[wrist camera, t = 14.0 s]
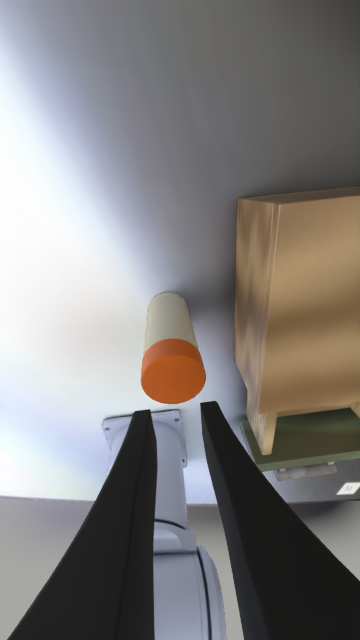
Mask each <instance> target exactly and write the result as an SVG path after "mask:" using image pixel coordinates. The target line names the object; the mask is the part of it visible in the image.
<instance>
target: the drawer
mask: <svg viewBox="0 0 360 640" xmlns="http://www.w3.org/2000/svg"><path fill="white" fill-rule="evenodd" d="M246 415H247V418H248V420H243V421H240V430H241V433H242V435H243V438H244V441H245V444H246V447H247V450H248V453H249V456H250V457H251V459H252V460H253V462H254V463H255V464H256V466H257V467H258V468H259V470H260V471H261V472H264V471H271V470H273V471H274V475H275V477H276V479H277V480H278V481H282V480H290V479H297V478H304V477H311V476H318V475H325V474H332V473H336V472H337V468H336V465H335V463H334V462H336V461H343V460H350V459H357V458H360V401H357V402H349V403H341V404H334V405H326V406H319V407H311V408H303V409H296V410H288V411H281V412H273V413H266V414H258V412H257V410H256V407H255V405H254V403H253V401H252V399H251V396H250V394H249V392H248V394H247V410H246Z"/></svg>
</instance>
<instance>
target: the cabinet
mask: <svg viewBox="0 0 360 640" xmlns="http://www.w3.org/2000/svg"><path fill="white" fill-rule="evenodd" d="M234 360H235V363H236V365H237V367H238V369H239V372H240V374H241V376H242V378H243V381H244V383H245V385H246V387H247V390H248V392H249V394H250V396H251V399H252V401H253V403H254V405H255V407H256V410H257V412H258V414H266V413H273V412H281V411H288V410H296V409H303V408H311V407H319V406H326V405H334V404H341V403H349V402H357V401H360V185H357V186H348V187H338V188H329V189H319V190H310V191H300V192H291V193H281V194H272V195H262V196H253V197H243V198H238V201H237V245H236V289H235V332H234Z"/></svg>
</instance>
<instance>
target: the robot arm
mask: <svg viewBox="0 0 360 640" xmlns="http://www.w3.org/2000/svg"><path fill="white" fill-rule="evenodd" d="M200 406H201V421H202V435H203V441H204V447H205V453H206V459H207V464H208V468H209V472H210V476H211V480H212V484H213V488H214V491H215V495H216V499H217V503H218V507H219V511H220V515H221V518H222V522H223V527H224V531H225V536H226V540H227V546H228V551H229V557H230V562H231V568H232V573H233V579H234V584H235V589H236V596H237V601H238V606H239V612H240V618H241V624H242V629H243V635H244V640H360V581H359V580H358V579H357V578H356V577H355V576H354V575H353V574H352V573H351V572H350V571H349V570H348V569H347V568H346V567H345V566H344V565H343V564H342V563H341V562H340V561H339V560H338V559H337V558H336V557H335V556H334V555H333V554H332V553H331V551H330V550H329V549H328V548H327V547H326V546H325V545H324V544H323V543H322V542H321V541H320V540H319V539H318V538H317V537H316V535H315V534H313V532H312V531H311V530H310V529H309V528H308V527H307V526H306V525H305V524H304V523H303V522H302V520H301V519H300V518H299V517H298V516H297V515H296V514H295V512H294V511H293V510H292V509H291V508H290V507H289V506H288V504H287V503H286V502H285V501H284V500H283V499H282V497H281V496H280V495H279V494H278V493H277V491H276V490H275V489H274V488H273V486H272V485H271V484H270V483H269V481H268V480H267V479H266V478H265V476H264V475H263V474H262V472H261V471H260V470H259V468H258V467H257V466H256V464H255V463H254V462H253V460H252V459H251V457H250V456H249V455H248V453H247V452H246V450H245V449H244V447H243V446H242V444H241V443H240V441H239V440H238V438H237V437H236V435H235V434H234V432H233V430H232V429H231V427H230V425H229V424H228V422H227V420H226V418H225V417H224V415H223V413H222V411H221V409H220V407H219V405H218V403H217V402H216V401H211V402H204V403H200ZM176 418H177V419H176ZM101 427H102V429H103V432H104V435H105V437H106V440H107V443H108V445H109V448H110V451H111V452H110V458H109V464H108V470H107V475H106V481H105V483H104V485H103V487H102V489H101V491H100V493H99V495H98V497H97V499H96V500H95V502H94V504H93V506H92V508H91V510H90V512H89V513H88V515H87V517H86V519H85V521H84V522H83V524H82V526H81V528H80V530H79V531H78V533H77V534H76V536H75V538H74V540H73V541H72V543H71V544H70V546H69V548H68V549H67V551H66V553H65V554H64V556H63V557H62V559H61V561H60V562H59V564H58V565H57V567H56V569H55V570H54V572H53V573H52V575H51V576H50V578H49V580H48V581H47V583H46V584H45V585H44V587H43V588H42V590H41V591H40V593H39V594H38V596H37V597H36V599H35V600H34V602H33V603H32V605H31V606H30V608H29V609H28V610H27V612H26V613H25V615H24V617H23V618H22V619H21V621H20V622H19V624H18V625H17V627H16V628H15V630H14V631H13V632H12V634H11V635H10V637H9V638H8V639H7V640H226V623H225V612H224V605H223V597H222V592H221V586H220V581H219V577H218V573H217V570H216V567H215V564H214V562H213V560H212V558H211V557H210V556H209V554H208V552H207V551H206V549H205V548H204V547H203V546H196V536H195V531H194V530H189V528H188V519H187V518H188V517H187V506H186V496H185V485H184V474H183V468H185V467H187V457H186V449H185V442H184V434H183V426H182V418H181V412H180V411H177V410H175V411H167V412H160V413H152V414H151V412H150V409H149V410H142V411H135V412H134V413H133V415H132V416H129V417H121V418H113V419H106V420H103V421H102V424H101Z"/></svg>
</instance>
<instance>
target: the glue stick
mask: <svg viewBox="0 0 360 640" xmlns="http://www.w3.org/2000/svg"><path fill="white" fill-rule="evenodd" d="M205 380H206V374H205V370H204V366H203V362H202V358H201V355H200V352H199V350H198V346H197V342H196V338H195V334H194V330H193V326H192V322H191V319H190V315H189V311H188V307H187V304H186V302H185V300H184V299H183V298H182V297H181V296H179V295H178V294H175V293H171V292H165V293H161V294H158V295H156V296H155V297H154V298H153V299H152V300H151V301H150V303H149V305H148V308H147V320H146V333H145V345H144V357H143V360H142V370H141V385H142V388H143V390H144V392H145V393H146V394H147V395H148V396H149V397H150V398H152V399H153V400H155V401H157V402H160V403H165V404H178V403H182V402H186V401H188V400H190V399H192V398H194V397H195V396H196V395H198V393H199V392H200V391H201V390H202V388H203V387H204V384H205Z"/></svg>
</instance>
